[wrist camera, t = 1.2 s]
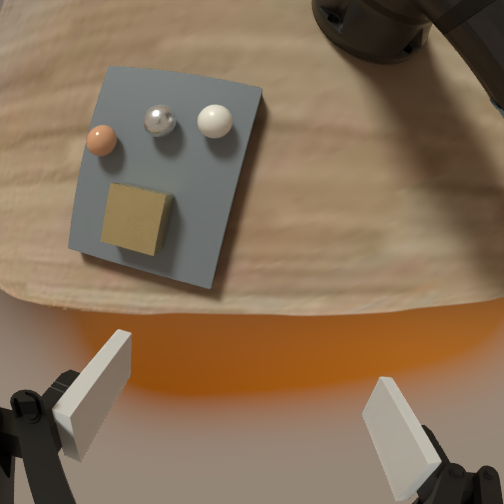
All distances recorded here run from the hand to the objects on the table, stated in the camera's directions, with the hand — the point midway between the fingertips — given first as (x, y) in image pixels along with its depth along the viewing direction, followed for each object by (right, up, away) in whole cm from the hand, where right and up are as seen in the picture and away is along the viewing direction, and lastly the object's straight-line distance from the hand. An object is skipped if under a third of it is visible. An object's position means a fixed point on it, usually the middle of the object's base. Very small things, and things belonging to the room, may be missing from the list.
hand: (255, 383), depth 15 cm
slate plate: (-11, +16, +19) cm, 27 cm away
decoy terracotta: (-16, +18, +14) cm, 28 cm away
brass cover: (-12, +10, +17) cm, 23 cm away
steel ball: (-9, +19, +14) cm, 25 cm away
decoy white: (-4, +19, +14) cm, 24 cm away
